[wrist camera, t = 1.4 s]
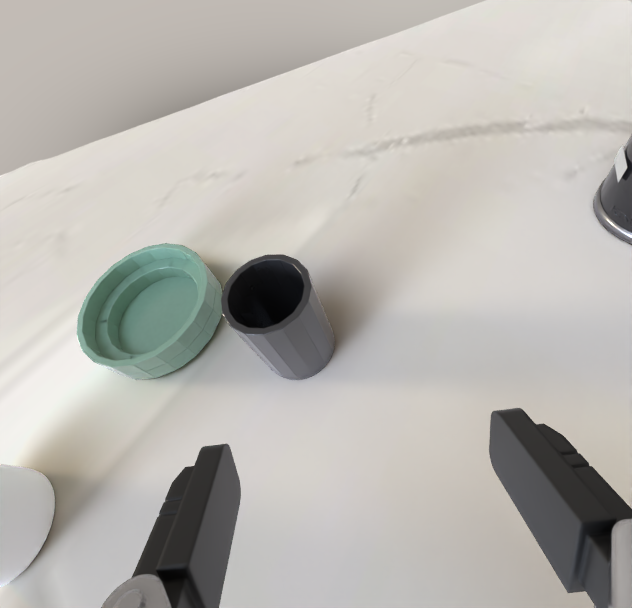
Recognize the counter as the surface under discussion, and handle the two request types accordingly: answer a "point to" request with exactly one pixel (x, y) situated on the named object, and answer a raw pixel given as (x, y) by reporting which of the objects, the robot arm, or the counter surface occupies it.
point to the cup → (279, 315)
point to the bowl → (150, 312)
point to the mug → (23, 518)
